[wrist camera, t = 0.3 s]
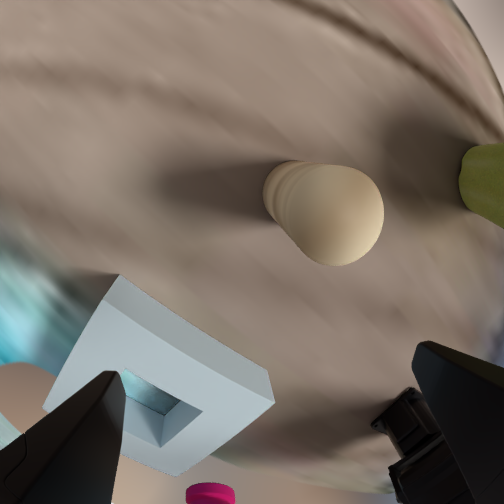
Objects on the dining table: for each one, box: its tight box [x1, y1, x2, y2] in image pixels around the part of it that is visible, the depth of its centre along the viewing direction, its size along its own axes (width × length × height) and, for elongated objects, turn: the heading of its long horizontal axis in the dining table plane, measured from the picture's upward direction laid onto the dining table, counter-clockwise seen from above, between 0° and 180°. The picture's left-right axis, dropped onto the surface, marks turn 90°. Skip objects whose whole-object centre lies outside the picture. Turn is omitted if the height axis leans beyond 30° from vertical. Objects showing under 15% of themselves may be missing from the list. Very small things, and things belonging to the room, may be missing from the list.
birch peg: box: [262, 161, 384, 266], centre depth 17 cm, size 4×4×8 cm
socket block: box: [42, 275, 275, 477], centre depth 22 cm, size 14×14×4 cm
